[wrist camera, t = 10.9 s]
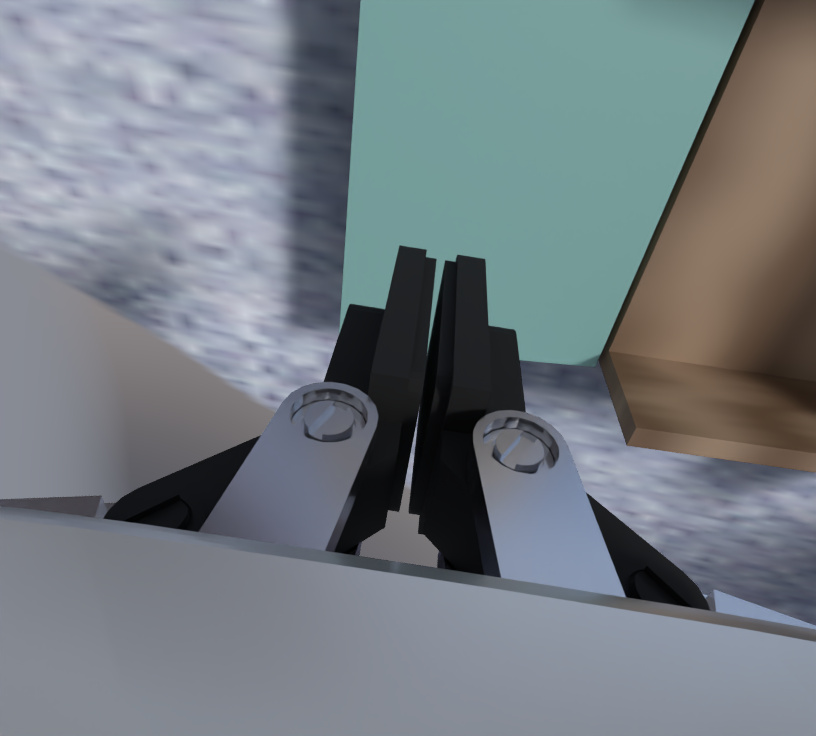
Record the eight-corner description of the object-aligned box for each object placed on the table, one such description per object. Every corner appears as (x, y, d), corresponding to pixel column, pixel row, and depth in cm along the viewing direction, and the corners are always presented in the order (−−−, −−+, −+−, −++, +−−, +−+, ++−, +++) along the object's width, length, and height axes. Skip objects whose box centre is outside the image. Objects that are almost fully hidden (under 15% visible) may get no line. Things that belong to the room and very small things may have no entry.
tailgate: (820, -152, 15) (375, -237, 14) (595, 367, 26) (338, 343, 25) (795, -148, 16) (377, -227, 15) (588, 351, 27) (340, 328, 26)
